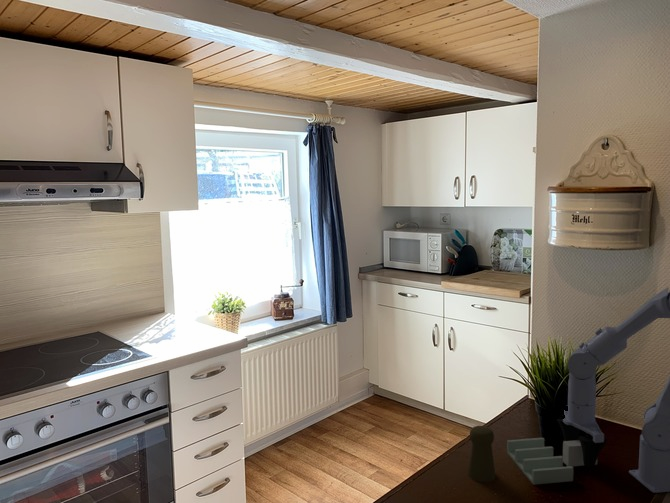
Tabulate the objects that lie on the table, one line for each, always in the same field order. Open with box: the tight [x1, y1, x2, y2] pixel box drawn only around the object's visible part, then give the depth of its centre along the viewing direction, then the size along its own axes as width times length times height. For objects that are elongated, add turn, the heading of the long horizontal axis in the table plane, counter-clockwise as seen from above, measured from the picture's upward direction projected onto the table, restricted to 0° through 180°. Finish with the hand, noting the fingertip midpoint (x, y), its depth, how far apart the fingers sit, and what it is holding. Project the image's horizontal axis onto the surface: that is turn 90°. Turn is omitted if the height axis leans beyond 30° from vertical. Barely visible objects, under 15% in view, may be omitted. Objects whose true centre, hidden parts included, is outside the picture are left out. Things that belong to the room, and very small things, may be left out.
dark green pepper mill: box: [467, 425, 496, 483], centre depth 116 cm, size 6×6×11 cm
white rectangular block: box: [562, 439, 598, 467], centre depth 120 cm, size 7×2×5 cm, turn 95°
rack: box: [506, 437, 574, 485], centre depth 119 cm, size 9×14×3 cm, turn 5°
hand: (579, 456), depth 120 cm, fingers open, 7 cm apart
